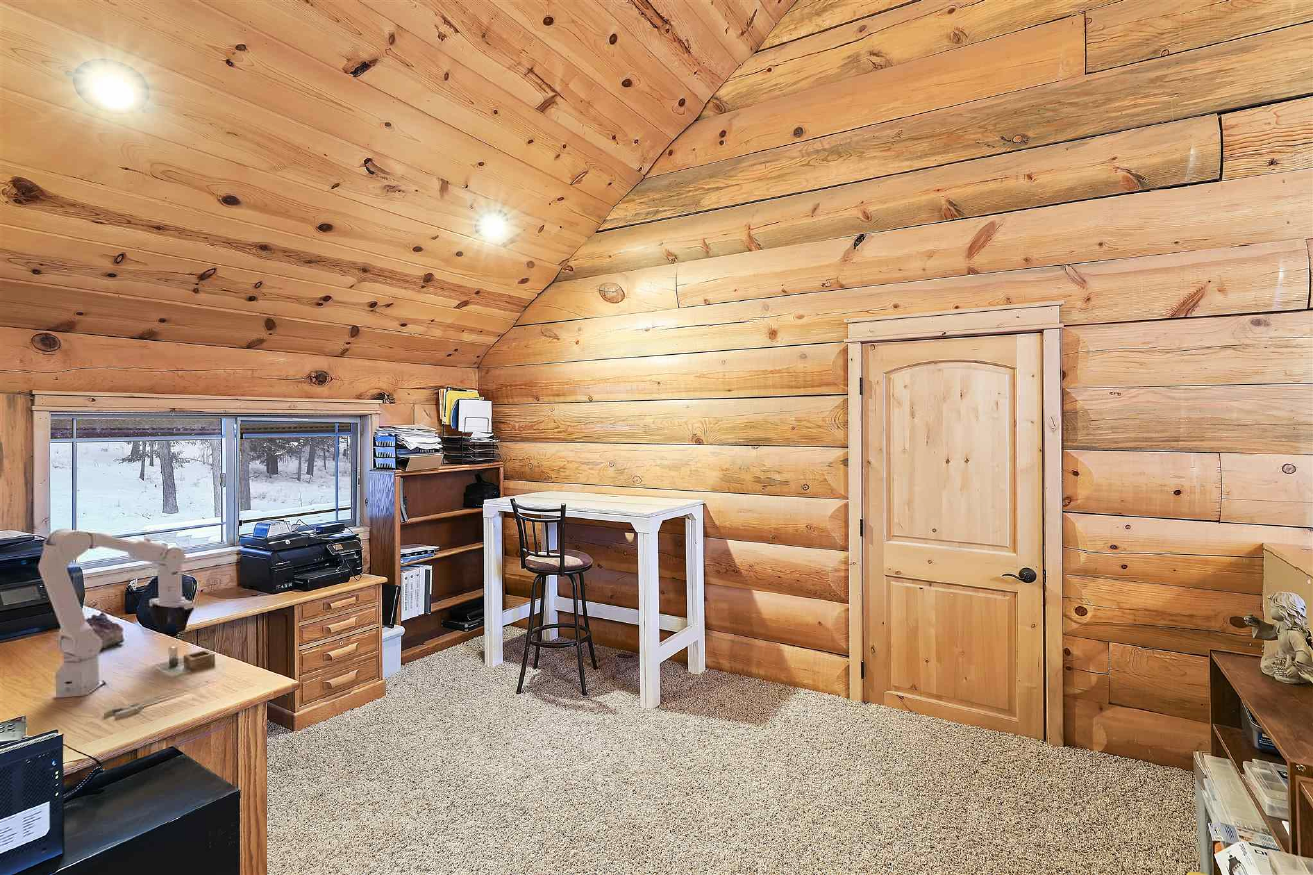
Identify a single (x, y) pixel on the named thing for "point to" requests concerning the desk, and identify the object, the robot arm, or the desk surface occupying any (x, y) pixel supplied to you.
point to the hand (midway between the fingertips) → (171, 630)
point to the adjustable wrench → (134, 708)
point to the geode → (106, 630)
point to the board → (176, 670)
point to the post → (172, 659)
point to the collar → (199, 660)
